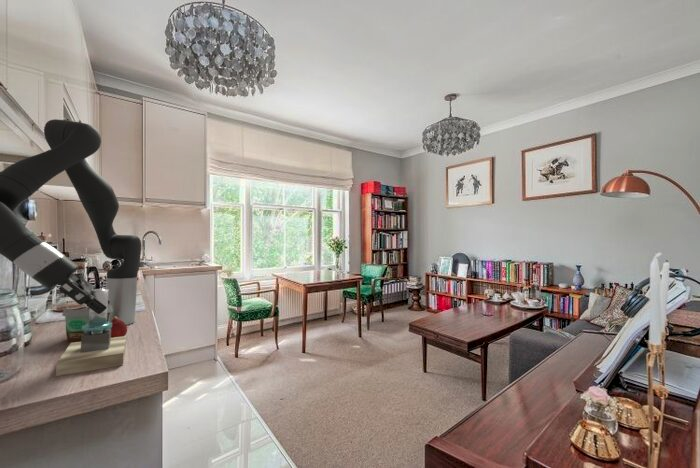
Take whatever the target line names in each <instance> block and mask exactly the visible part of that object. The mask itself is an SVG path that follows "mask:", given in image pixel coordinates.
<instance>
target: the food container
mask: <svg viewBox="0 0 700 468" xmlns="http://www.w3.org/2000/svg"><path fill="white" fill-rule="evenodd" d="M67 307H68V306H66V307H64V309H63V311H62V314H61V315H62V317H64V319H65V334H66V335H65V336H66V342H67V343H74V342H81V337H82V335H83V333H84V332H85V331H82V326H83V325H85V324H89V310H90V308H89V307H85V308H84V307H83V308H77V309H75V308H74V309H70V308H67ZM112 311H113V310H112V307H111V305H110V306H108V308H107V322H108V320H109V315H110V312H112Z"/></svg>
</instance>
